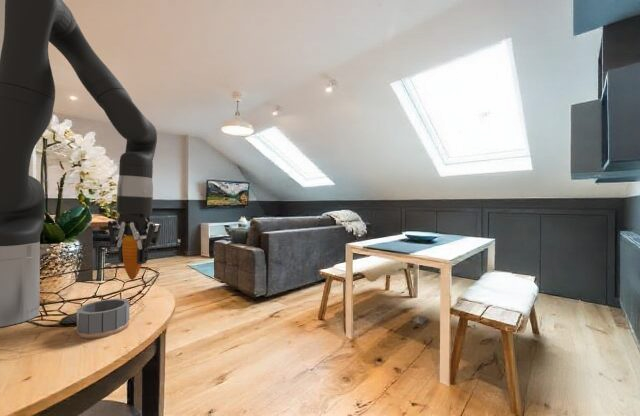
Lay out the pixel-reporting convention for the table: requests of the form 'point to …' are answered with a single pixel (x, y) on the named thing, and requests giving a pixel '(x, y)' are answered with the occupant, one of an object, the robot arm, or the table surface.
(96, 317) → the cup
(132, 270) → the carrot
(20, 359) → the table surface
